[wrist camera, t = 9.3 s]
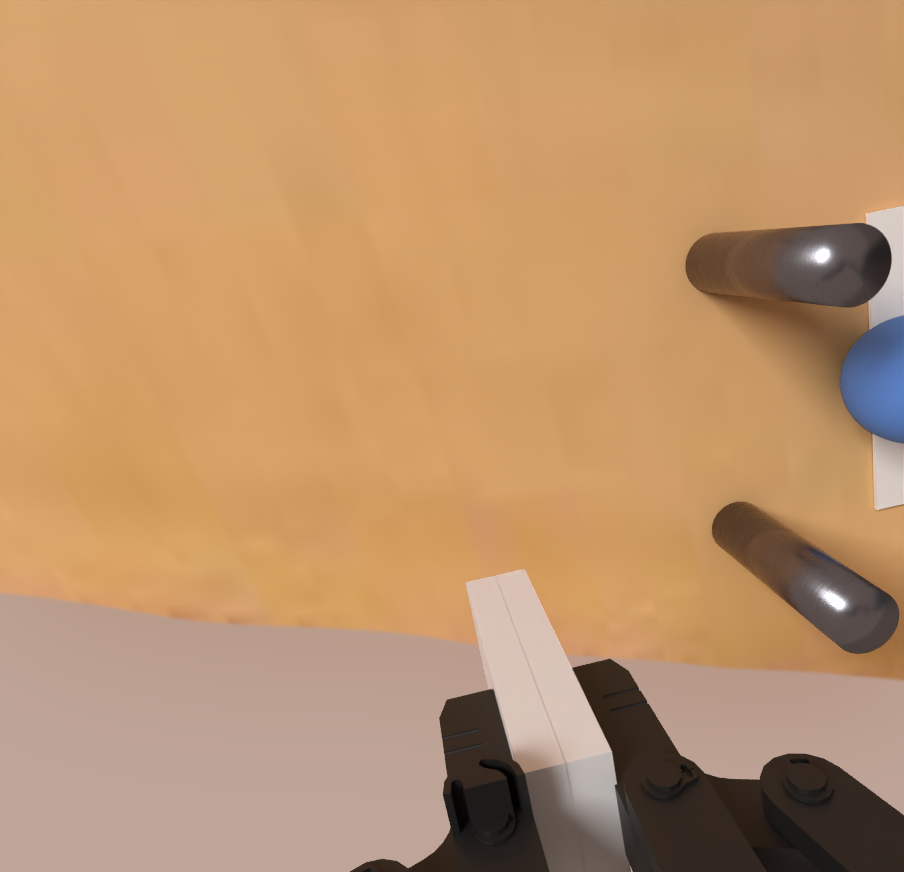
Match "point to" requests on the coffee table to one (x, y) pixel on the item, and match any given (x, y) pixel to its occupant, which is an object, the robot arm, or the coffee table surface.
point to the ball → (877, 380)
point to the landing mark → (894, 464)
